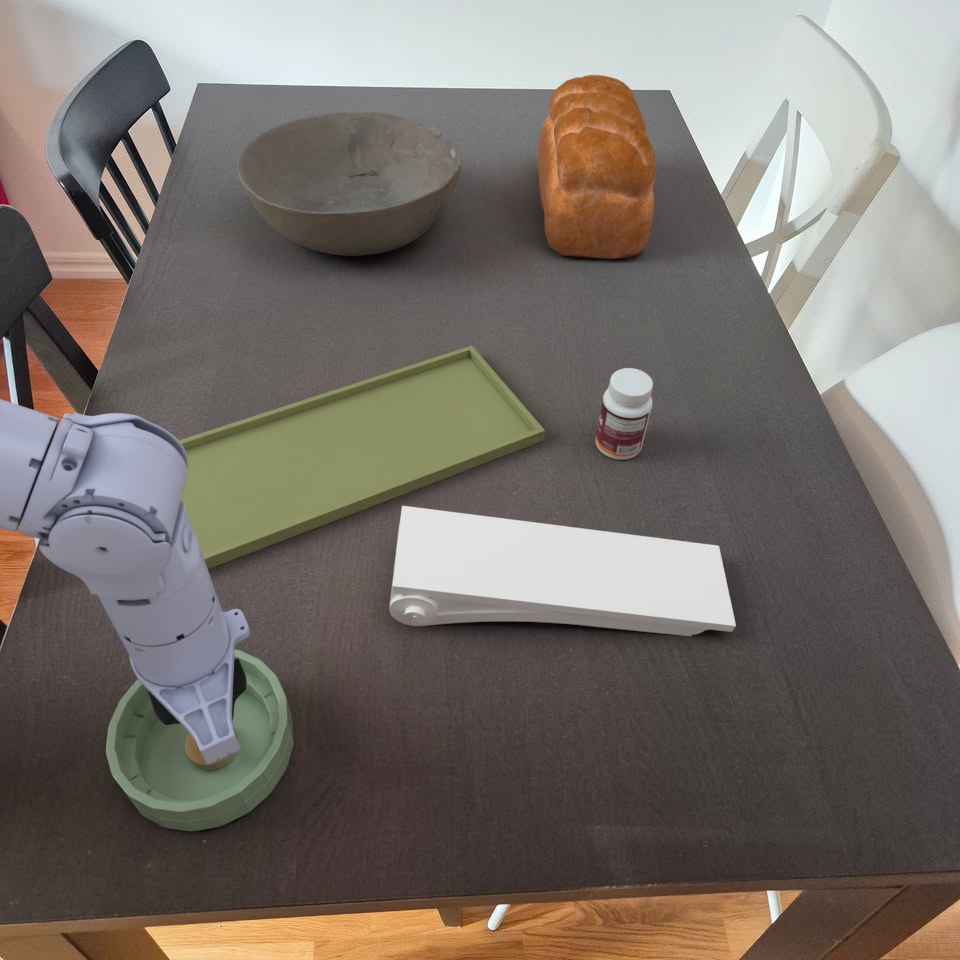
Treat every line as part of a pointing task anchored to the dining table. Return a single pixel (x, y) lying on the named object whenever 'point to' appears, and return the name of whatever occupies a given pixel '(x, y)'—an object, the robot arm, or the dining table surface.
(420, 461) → the serving tray
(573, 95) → the bread
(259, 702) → the shallow round dish
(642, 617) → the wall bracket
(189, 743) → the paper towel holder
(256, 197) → the bowl
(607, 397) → the pill bottle
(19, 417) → the robot arm
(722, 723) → the dining table surface
